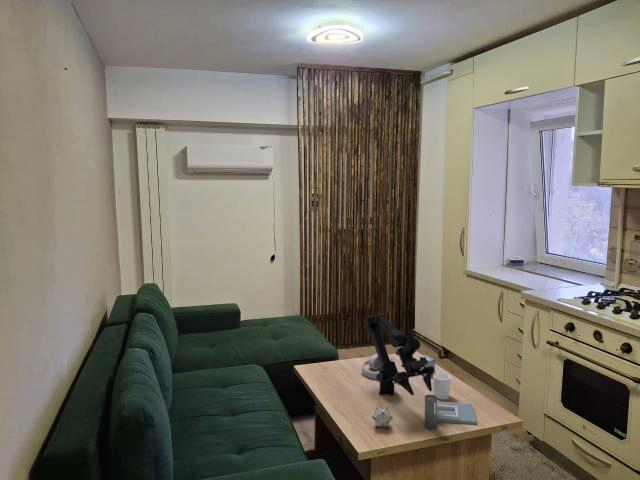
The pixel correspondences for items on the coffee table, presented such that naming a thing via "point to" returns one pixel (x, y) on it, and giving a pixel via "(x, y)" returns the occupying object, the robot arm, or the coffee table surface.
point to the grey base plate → (455, 413)
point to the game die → (382, 417)
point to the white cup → (441, 385)
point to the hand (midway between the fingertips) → (422, 393)
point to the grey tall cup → (431, 412)
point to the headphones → (372, 366)
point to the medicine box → (429, 363)
